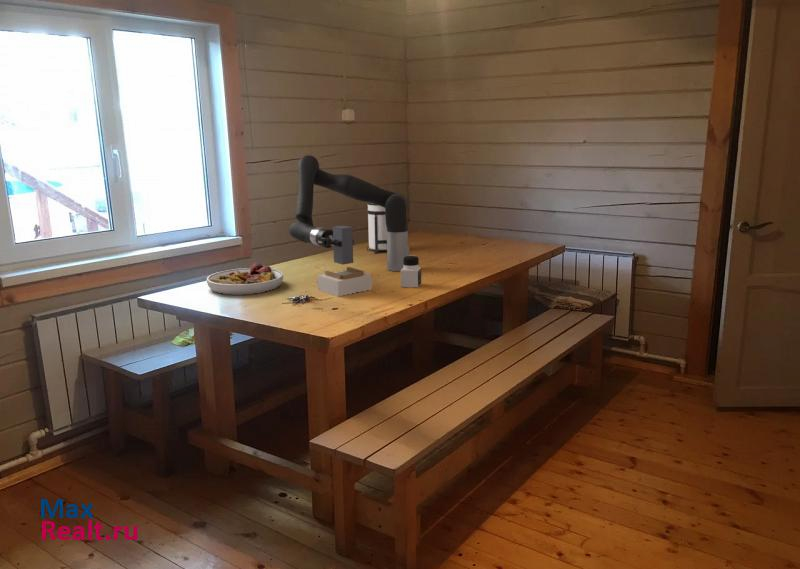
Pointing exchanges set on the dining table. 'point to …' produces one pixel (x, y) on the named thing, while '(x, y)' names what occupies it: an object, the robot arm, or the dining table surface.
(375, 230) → the coffee press
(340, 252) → the grey tall block
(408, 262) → the medicine bottle
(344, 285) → the stand
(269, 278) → the bowl
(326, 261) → the dining table surface
